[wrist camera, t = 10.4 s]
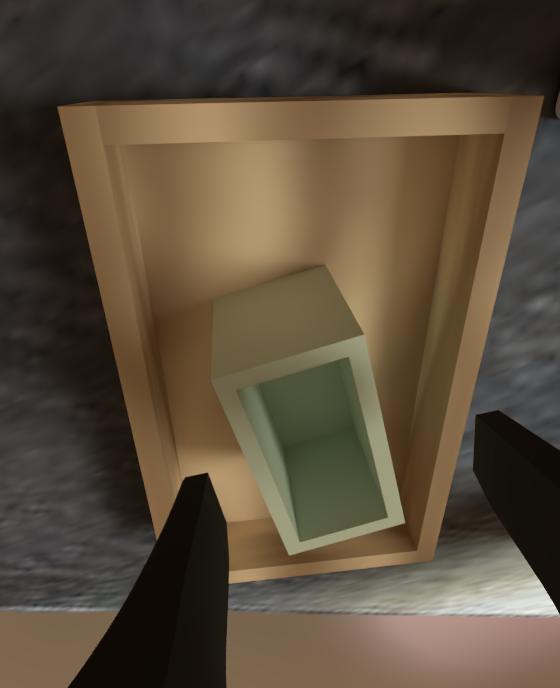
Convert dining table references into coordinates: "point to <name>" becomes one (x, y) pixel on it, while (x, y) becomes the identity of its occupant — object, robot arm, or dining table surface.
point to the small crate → (305, 408)
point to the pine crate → (296, 256)
